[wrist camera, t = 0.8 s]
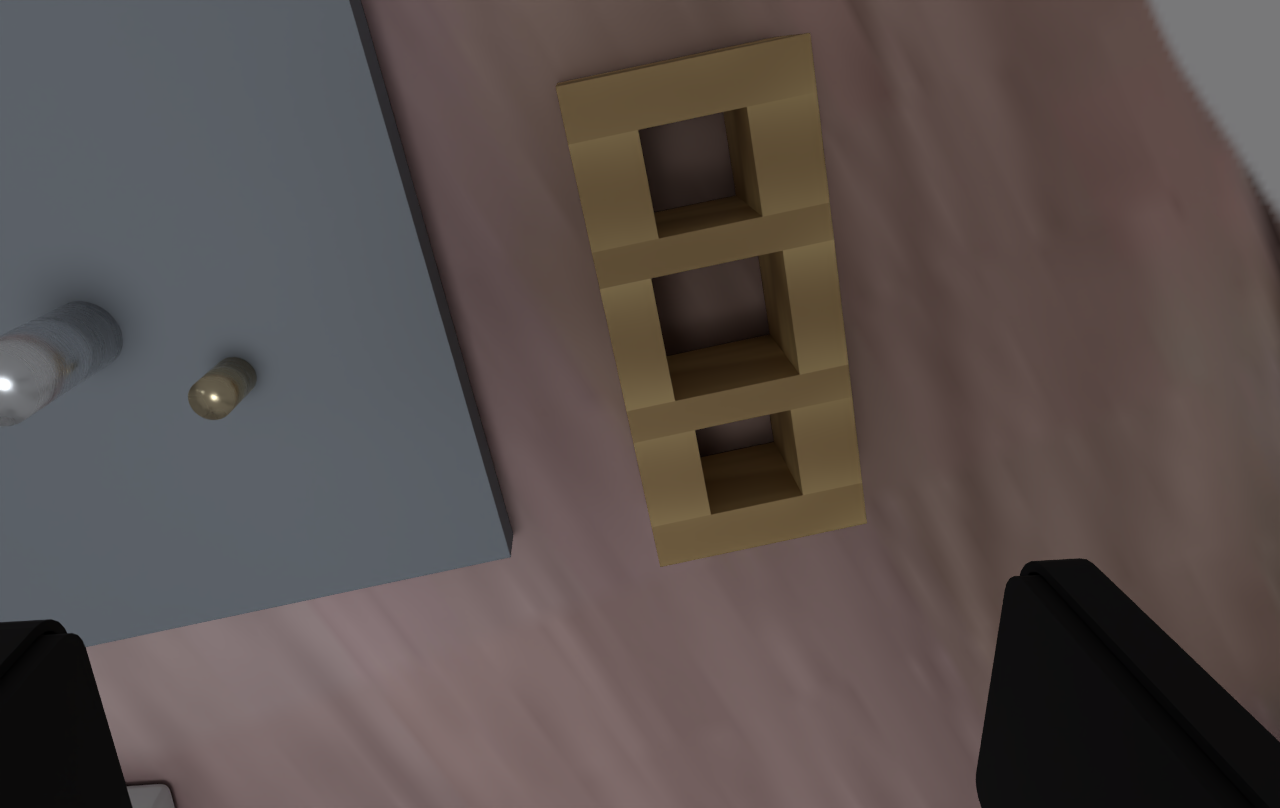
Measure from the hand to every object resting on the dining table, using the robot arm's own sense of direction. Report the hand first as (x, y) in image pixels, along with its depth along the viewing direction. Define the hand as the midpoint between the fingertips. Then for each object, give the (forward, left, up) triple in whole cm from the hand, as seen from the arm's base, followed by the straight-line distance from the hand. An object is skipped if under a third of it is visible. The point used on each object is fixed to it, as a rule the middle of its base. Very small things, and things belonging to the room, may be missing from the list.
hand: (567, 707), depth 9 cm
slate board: (+2, +14, -20) cm, 24 cm away
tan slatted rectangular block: (-1, -4, -20) cm, 20 cm away
